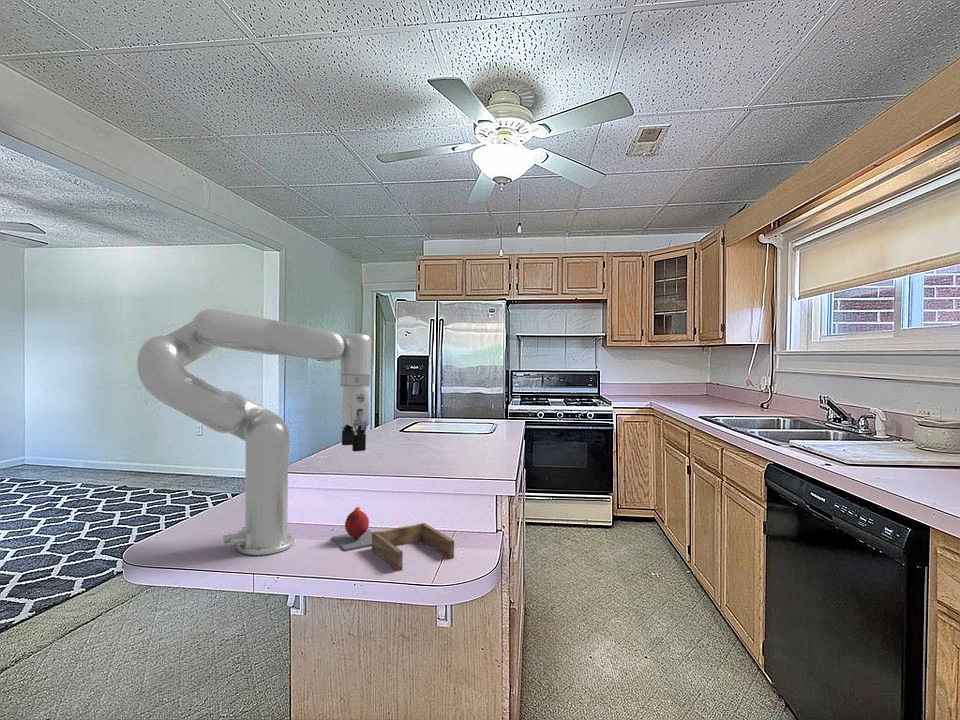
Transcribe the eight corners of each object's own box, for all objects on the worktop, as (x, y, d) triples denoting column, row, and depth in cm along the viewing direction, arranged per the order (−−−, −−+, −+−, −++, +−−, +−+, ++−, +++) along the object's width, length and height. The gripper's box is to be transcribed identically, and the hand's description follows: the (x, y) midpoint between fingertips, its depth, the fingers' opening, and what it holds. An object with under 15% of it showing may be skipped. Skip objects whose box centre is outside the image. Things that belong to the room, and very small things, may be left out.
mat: (344, 551, 124) (344, 549, 124) (331, 538, 132) (331, 536, 132) (384, 543, 129) (384, 541, 129) (369, 531, 138) (369, 529, 138)
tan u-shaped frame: (398, 570, 113) (398, 552, 113) (371, 549, 125) (372, 532, 125) (453, 557, 121) (454, 540, 121) (424, 538, 133) (424, 522, 133)
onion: (362, 543, 127) (363, 511, 127) (340, 541, 128) (341, 509, 128) (372, 535, 133) (372, 504, 133) (351, 534, 134) (351, 503, 134)
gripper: (380, 383, 129) (378, 452, 129) (359, 380, 144) (357, 442, 144) (350, 383, 125) (348, 454, 125) (332, 380, 140) (330, 443, 140)
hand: (353, 447), depth 135 cm, fingers open, 9 cm apart
